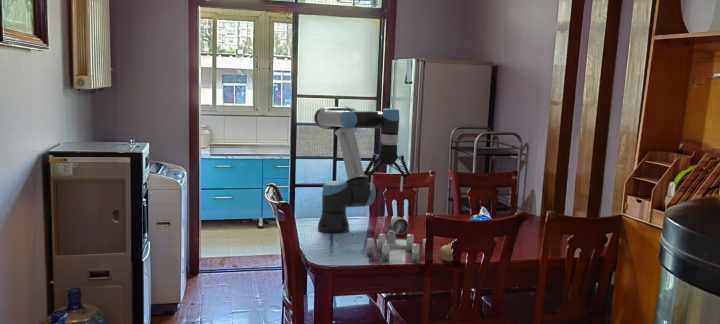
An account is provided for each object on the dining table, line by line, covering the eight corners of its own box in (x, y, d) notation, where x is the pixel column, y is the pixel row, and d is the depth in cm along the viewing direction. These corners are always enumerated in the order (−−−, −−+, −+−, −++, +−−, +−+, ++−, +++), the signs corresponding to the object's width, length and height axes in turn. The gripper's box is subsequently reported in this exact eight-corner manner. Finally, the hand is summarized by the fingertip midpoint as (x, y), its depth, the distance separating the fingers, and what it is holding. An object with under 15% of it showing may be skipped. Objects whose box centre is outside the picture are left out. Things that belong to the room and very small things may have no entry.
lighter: (388, 243, 235) (389, 225, 234) (386, 242, 236) (386, 225, 235) (400, 241, 239) (401, 224, 238) (398, 240, 240) (398, 223, 239)
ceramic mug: (403, 230, 265) (403, 214, 264) (408, 234, 257) (408, 218, 256) (382, 230, 263) (382, 215, 262) (386, 235, 255) (387, 219, 254)
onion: (461, 263, 215) (462, 246, 214) (442, 264, 213) (443, 246, 212) (453, 257, 222) (454, 240, 222) (435, 257, 221) (436, 241, 220)
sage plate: (378, 248, 232) (378, 245, 232) (376, 241, 242) (376, 239, 242) (410, 248, 233) (410, 245, 233) (407, 242, 243) (407, 239, 242)
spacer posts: (367, 262, 212) (368, 244, 211) (364, 249, 229) (365, 233, 229) (433, 263, 213) (434, 245, 212) (425, 250, 231) (425, 234, 230)
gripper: (361, 143, 234) (358, 191, 237) (418, 146, 235) (414, 193, 239) (360, 141, 241) (358, 187, 244) (415, 143, 243) (412, 189, 246)
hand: (386, 190), depth 242 cm, fingers open, 13 cm apart
